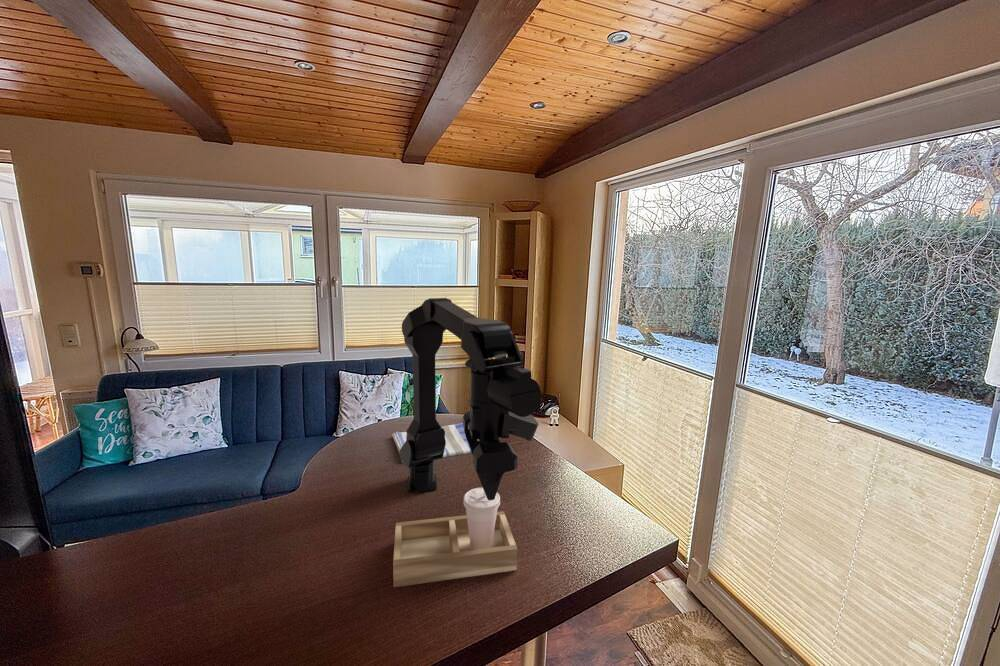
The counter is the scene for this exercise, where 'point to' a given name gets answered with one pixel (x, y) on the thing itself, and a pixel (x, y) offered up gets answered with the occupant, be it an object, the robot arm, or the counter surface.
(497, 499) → the smoothie
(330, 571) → the counter surface
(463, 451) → the dish towel
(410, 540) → the tray
